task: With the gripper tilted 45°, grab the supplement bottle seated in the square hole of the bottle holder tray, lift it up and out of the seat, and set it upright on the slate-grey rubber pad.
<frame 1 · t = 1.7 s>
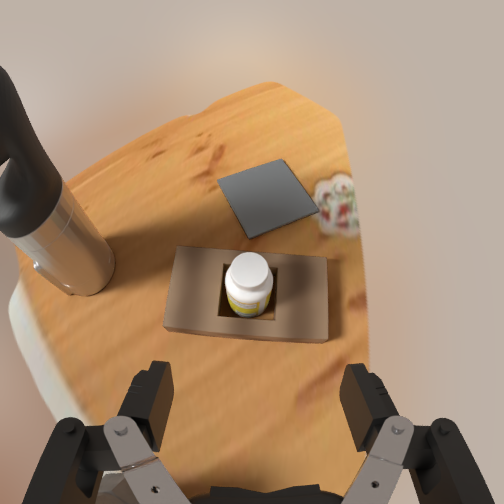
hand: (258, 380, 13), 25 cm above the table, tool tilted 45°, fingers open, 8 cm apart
slate pad: (266, 195, 48), on the table
supplement bottle: (248, 299, 40), resting in bottle holder tray
bottle holder tray: (248, 298, 40), on the table
coffeepot: (123, 502, 26), on the table
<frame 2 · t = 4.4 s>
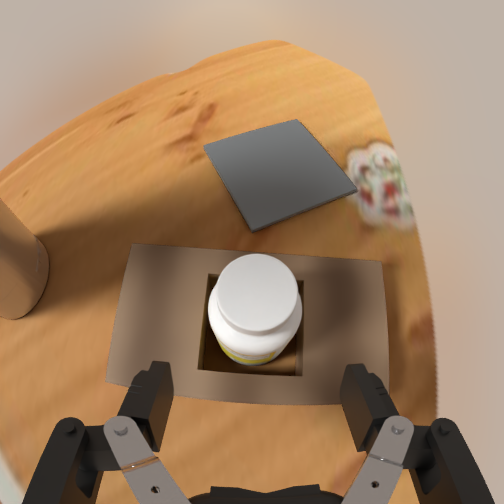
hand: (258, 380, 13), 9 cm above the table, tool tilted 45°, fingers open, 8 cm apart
slate pad: (278, 167, 31), on the table
supplement bottle: (251, 333, 23), resting in bottle holder tray
bottle holder tray: (251, 332, 23), on the table
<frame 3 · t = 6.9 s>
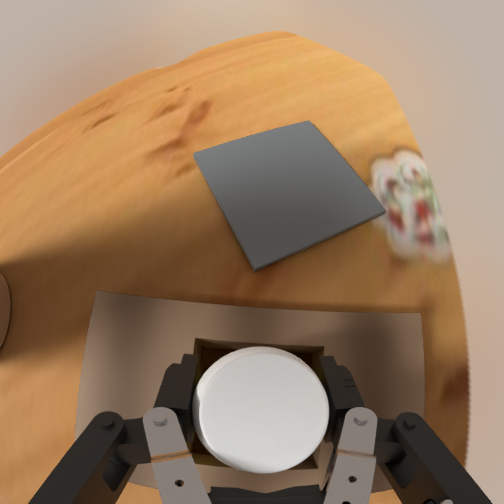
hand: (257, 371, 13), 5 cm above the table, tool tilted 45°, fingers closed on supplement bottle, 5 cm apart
slate pad: (287, 182, 25), on the table
supplement bottle: (253, 405, 17), resting in bottle holder tray, touching gripper
bottle holder tray: (253, 405, 17), on the table
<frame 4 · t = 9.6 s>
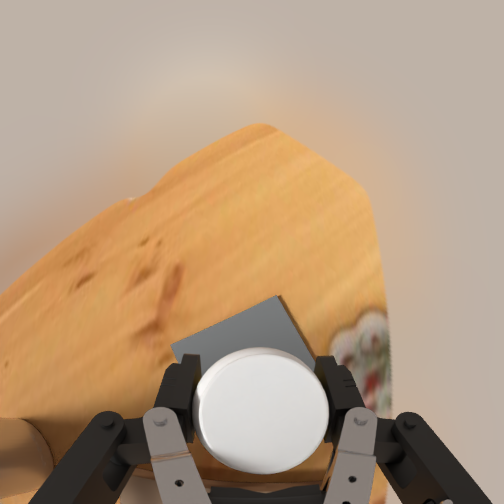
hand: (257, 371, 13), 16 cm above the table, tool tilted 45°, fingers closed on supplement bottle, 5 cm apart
slate pad: (251, 373, 28), on the table
supplement bottle: (253, 406, 17), point 11 cm above the table, touching gripper
when the fingers open (6 cm above the table, at t = 12.6 s): supplement bottle stays where it is, resting on slate pad.
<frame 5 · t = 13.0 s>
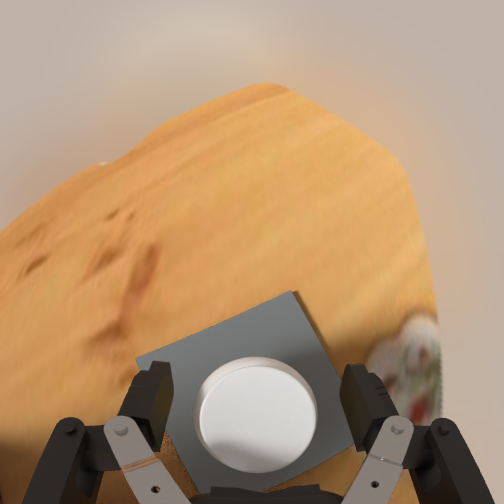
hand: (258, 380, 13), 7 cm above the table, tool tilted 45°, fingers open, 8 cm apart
slate pad: (252, 404, 18), on the table
supplement bottle: (251, 408, 18), resting on slate pad
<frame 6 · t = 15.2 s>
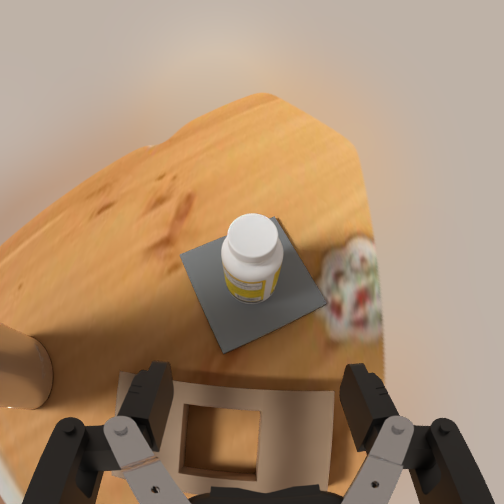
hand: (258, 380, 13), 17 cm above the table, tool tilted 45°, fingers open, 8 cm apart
slate pad: (251, 280, 33), on the table
supplement bottle: (250, 281, 32), resting on slate pad
bottle holder tray: (221, 439, 25), on the table
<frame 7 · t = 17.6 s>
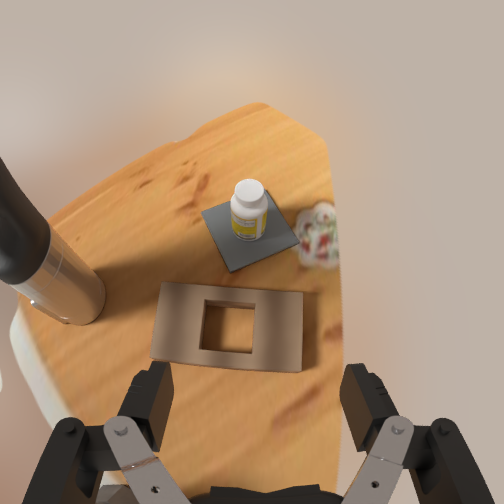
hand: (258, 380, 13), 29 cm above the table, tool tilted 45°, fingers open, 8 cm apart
slate pad: (248, 227, 50), on the table
supplement bottle: (248, 228, 49), resting on slate pad
bottle holder tray: (228, 330, 42), on the table
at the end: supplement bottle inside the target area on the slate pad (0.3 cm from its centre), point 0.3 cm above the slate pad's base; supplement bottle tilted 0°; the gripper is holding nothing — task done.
